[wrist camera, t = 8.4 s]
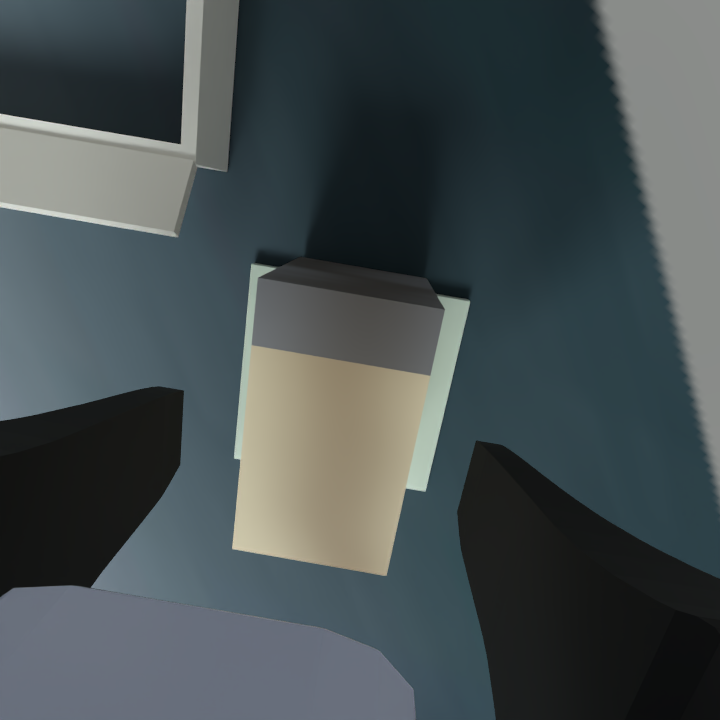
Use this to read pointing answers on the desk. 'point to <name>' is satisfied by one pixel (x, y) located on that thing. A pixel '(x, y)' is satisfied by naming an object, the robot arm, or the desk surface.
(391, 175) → the desk surface
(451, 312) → the pad
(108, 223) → the white flat frame
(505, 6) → the desk surface
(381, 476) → the block
